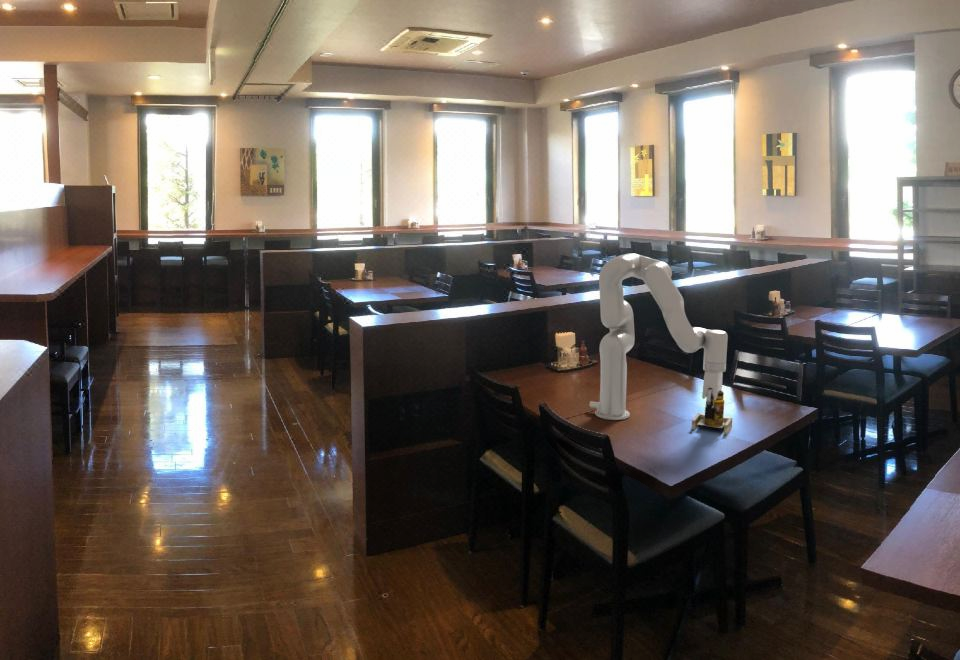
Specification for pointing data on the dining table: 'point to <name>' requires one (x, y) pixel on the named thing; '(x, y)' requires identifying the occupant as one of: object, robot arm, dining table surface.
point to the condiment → (716, 413)
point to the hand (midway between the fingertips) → (711, 415)
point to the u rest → (698, 417)
